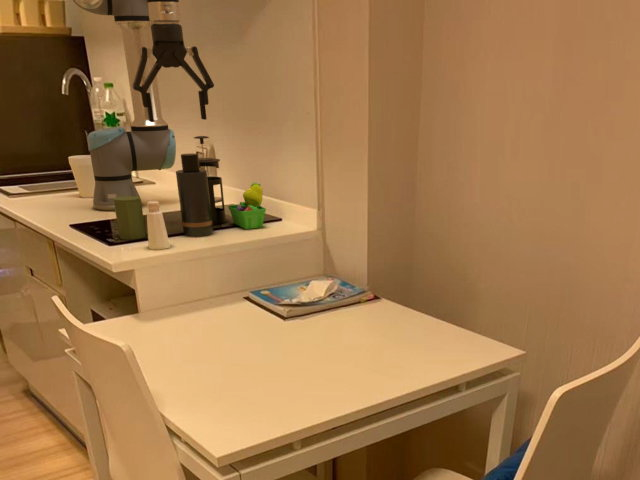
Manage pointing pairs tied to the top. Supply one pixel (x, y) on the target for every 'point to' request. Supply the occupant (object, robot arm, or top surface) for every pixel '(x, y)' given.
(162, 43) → the robot arm
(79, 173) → the foam cup
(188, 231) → the flask
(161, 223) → the salt shaker
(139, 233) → the olive tea canister
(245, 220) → the fruit basket
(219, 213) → the french press
